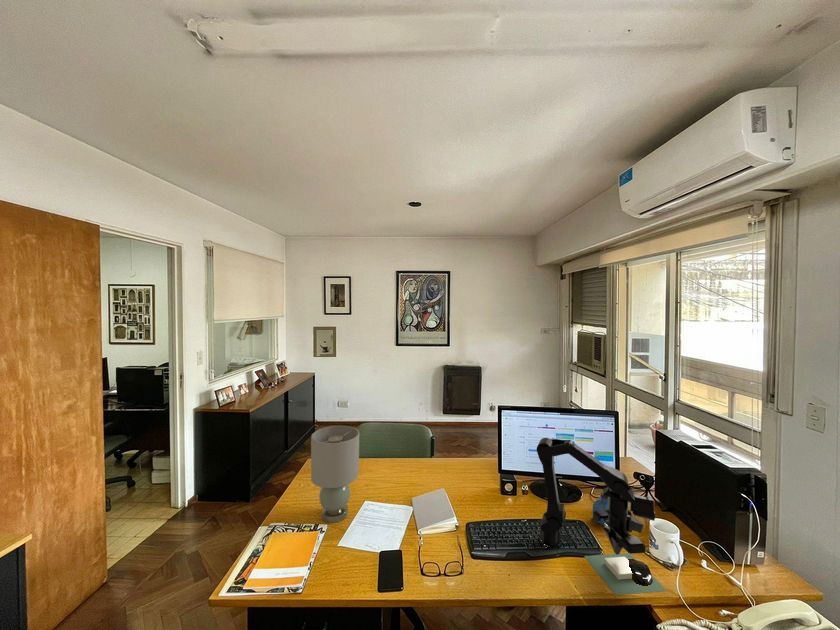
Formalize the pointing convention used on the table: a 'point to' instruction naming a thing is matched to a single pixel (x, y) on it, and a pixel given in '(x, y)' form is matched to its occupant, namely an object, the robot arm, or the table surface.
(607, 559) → the block
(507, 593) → the table surface
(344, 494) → the lamp
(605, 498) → the blue bottle
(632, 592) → the mat
